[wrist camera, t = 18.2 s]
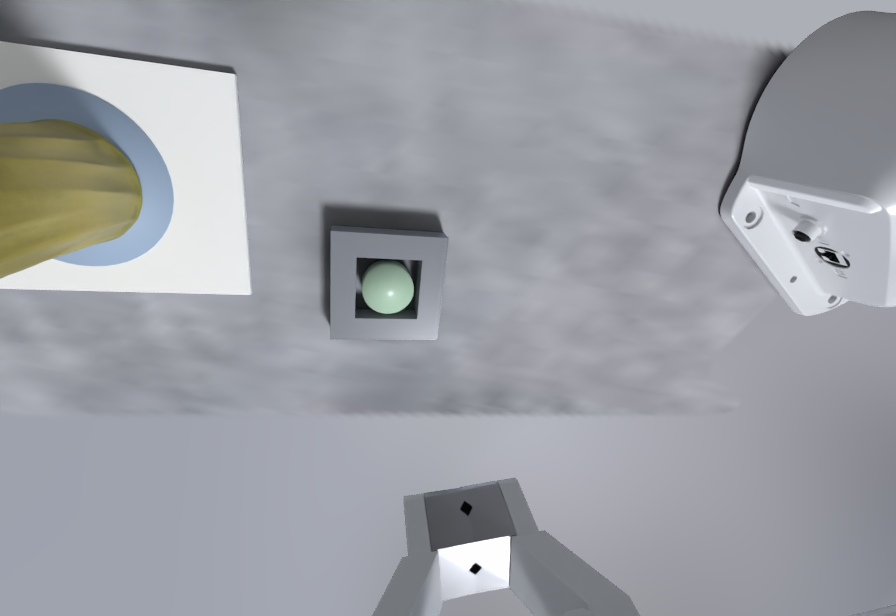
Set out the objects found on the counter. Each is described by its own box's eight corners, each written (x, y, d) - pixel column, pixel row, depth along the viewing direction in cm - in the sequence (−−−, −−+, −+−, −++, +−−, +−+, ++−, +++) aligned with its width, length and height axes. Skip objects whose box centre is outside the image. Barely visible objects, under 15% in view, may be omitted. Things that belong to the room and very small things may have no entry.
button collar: (443, 232, 27) (448, 238, 25) (433, 329, 29) (437, 339, 28) (331, 225, 25) (330, 230, 24) (331, 328, 28) (330, 339, 26)
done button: (412, 260, 27) (415, 266, 25) (409, 305, 28) (411, 314, 27) (362, 258, 26) (363, 264, 25) (361, 304, 27) (361, 313, 26)
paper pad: (236, 75, 21) (233, 73, 21) (252, 292, 26) (250, 295, 25) (-177, 16, 17) (-190, 13, 17) (-74, 283, 22) (-83, 287, 21)
